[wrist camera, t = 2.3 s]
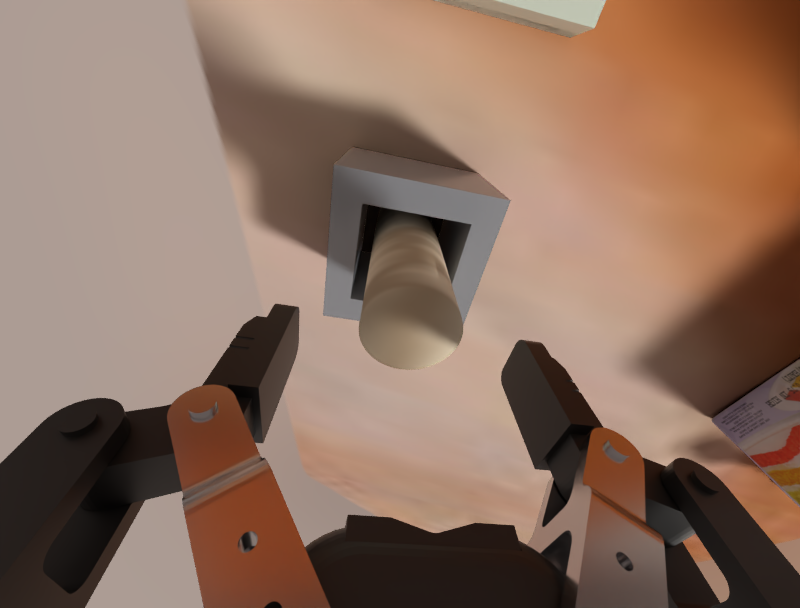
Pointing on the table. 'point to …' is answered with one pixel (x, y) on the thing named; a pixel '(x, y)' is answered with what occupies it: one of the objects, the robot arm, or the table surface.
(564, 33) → the sage tray
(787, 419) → the cake pan box
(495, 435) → the table surface
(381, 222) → the birch peg
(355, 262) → the grey cup
